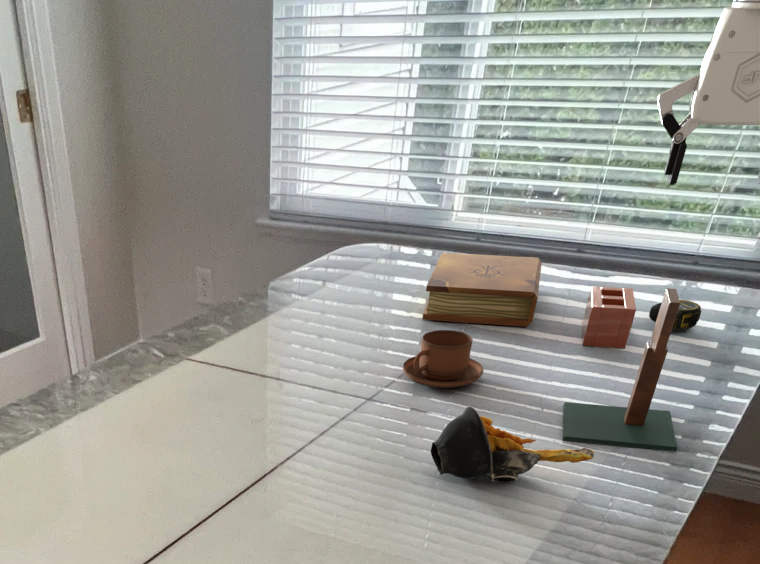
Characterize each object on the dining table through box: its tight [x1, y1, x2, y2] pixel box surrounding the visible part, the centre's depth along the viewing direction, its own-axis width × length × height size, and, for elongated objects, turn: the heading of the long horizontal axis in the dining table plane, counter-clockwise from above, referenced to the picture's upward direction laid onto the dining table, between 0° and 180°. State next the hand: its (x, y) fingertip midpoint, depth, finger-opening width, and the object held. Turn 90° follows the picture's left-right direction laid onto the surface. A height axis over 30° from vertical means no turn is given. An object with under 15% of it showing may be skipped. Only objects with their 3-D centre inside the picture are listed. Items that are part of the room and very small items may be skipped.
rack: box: [581, 285, 637, 350], centre depth 140 cm, size 7×12×6 cm, turn 163°
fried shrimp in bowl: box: [430, 405, 595, 483], centre depth 102 cm, size 9×11×18 cm
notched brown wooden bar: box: [624, 287, 681, 426], centre depth 109 cm, size 2×6×16 cm, turn 163°
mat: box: [562, 401, 678, 452], centre depth 115 cm, size 14×12×1 cm
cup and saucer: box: [402, 329, 485, 389], centre depth 127 cm, size 12×12×6 cm
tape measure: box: [648, 299, 702, 332], centre depth 142 cm, size 7×7×4 cm
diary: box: [422, 252, 542, 328], centre depth 154 cm, size 23×19×6 cm
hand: (716, 183), depth 98 cm, fingers open, 9 cm apart
